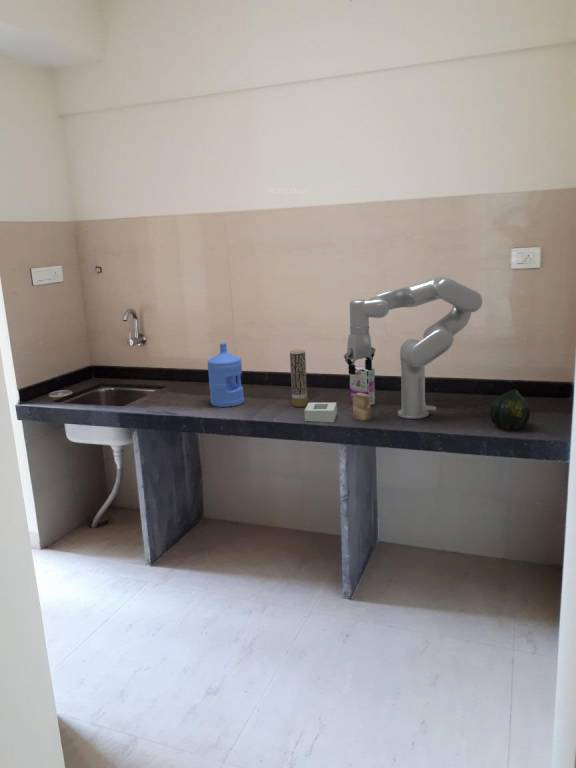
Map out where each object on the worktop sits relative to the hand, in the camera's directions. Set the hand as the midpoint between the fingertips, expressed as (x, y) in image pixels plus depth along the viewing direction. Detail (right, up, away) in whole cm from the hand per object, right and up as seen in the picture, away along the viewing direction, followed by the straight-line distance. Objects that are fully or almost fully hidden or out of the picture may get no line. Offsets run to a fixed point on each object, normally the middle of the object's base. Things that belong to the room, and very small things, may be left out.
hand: (360, 372), depth 259 cm
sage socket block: (-16, -19, +8) cm, 26 cm away
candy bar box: (+4, -14, +26) cm, 30 cm away
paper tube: (-24, -15, +28) cm, 40 cm away
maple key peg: (+1, -19, +5) cm, 20 cm away
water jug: (-58, -14, +38) cm, 71 cm away
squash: (+56, -21, -15) cm, 61 cm away
